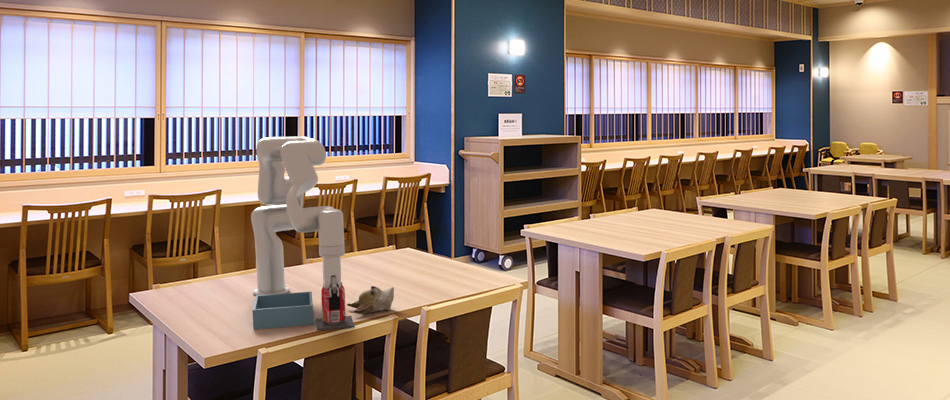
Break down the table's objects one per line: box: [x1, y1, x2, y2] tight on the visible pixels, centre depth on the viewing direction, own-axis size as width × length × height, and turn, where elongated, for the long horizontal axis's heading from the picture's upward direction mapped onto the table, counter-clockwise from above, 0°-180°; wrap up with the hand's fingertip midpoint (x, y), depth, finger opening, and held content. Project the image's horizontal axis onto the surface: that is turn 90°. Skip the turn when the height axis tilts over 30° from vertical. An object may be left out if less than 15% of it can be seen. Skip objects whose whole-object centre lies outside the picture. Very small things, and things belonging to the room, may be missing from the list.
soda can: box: [320, 281, 346, 324], centre depth 210 cm, size 7×7×12 cm
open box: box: [251, 291, 315, 330], centre depth 216 cm, size 18×18×6 cm
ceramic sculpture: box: [346, 285, 395, 315], centre depth 223 cm, size 11×9×15 cm
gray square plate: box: [315, 315, 355, 331], centre depth 210 cm, size 11×11×1 cm
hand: (333, 305), depth 210 cm, fingers open, 9 cm apart
